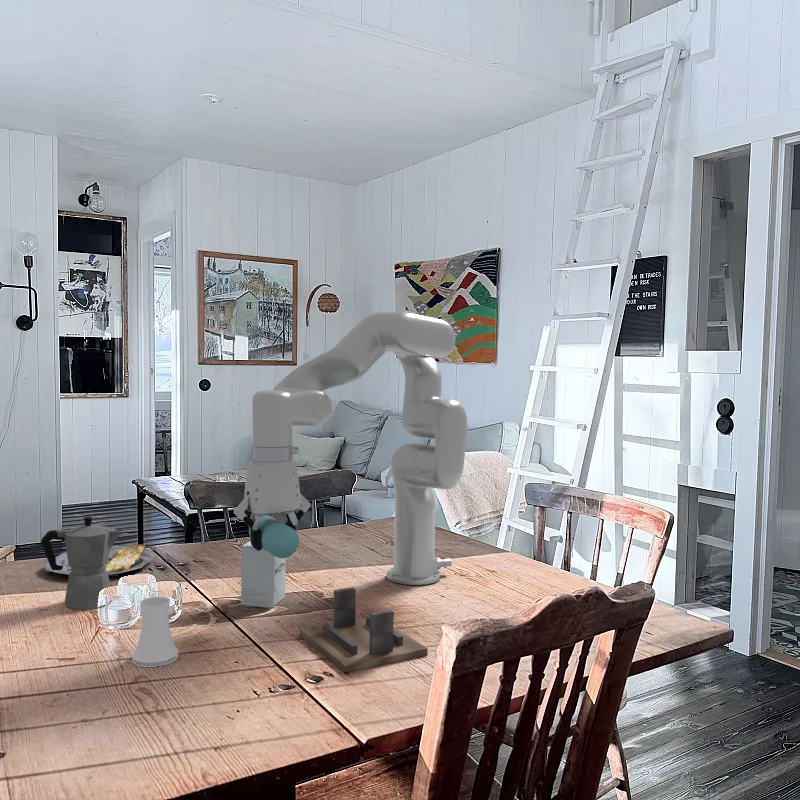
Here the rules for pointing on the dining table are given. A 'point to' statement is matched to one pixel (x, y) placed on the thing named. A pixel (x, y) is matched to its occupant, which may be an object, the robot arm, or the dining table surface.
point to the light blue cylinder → (277, 537)
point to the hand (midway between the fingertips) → (273, 545)
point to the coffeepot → (83, 561)
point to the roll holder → (361, 637)
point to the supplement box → (261, 577)
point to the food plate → (114, 560)
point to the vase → (155, 635)
